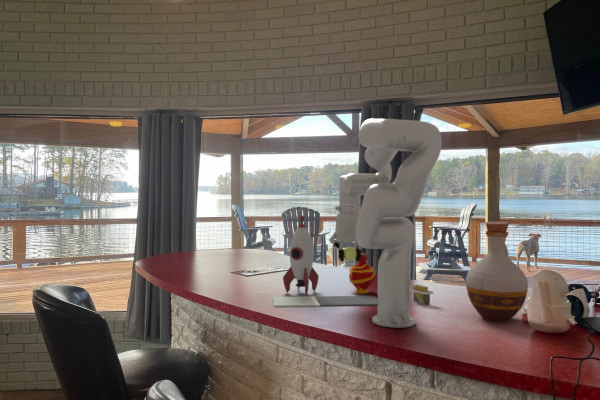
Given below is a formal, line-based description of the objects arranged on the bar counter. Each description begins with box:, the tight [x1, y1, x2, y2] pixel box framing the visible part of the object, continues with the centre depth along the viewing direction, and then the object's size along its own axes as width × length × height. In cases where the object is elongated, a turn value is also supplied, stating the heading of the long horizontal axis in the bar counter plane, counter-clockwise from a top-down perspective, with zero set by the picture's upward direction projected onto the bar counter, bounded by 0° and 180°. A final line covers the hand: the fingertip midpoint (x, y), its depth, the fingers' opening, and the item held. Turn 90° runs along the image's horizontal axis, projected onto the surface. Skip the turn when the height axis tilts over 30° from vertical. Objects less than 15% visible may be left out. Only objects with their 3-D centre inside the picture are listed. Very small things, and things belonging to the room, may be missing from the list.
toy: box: [282, 215, 319, 297], centre depth 187 cm, size 11×11×30 cm
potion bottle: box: [348, 252, 376, 294], centre depth 190 cm, size 10×10×15 cm
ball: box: [343, 246, 357, 262], centre depth 172 cm, size 5×5×5 cm
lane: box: [271, 295, 378, 308], centre depth 171 cm, size 14×38×1 cm, turn 96°
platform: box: [410, 284, 434, 306], centre depth 170 cm, size 12×18×7 cm, turn 30°
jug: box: [465, 221, 529, 323], centre depth 150 cm, size 20×18×30 cm
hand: (349, 260), depth 172 cm, fingers closed on ball, 5 cm apart
